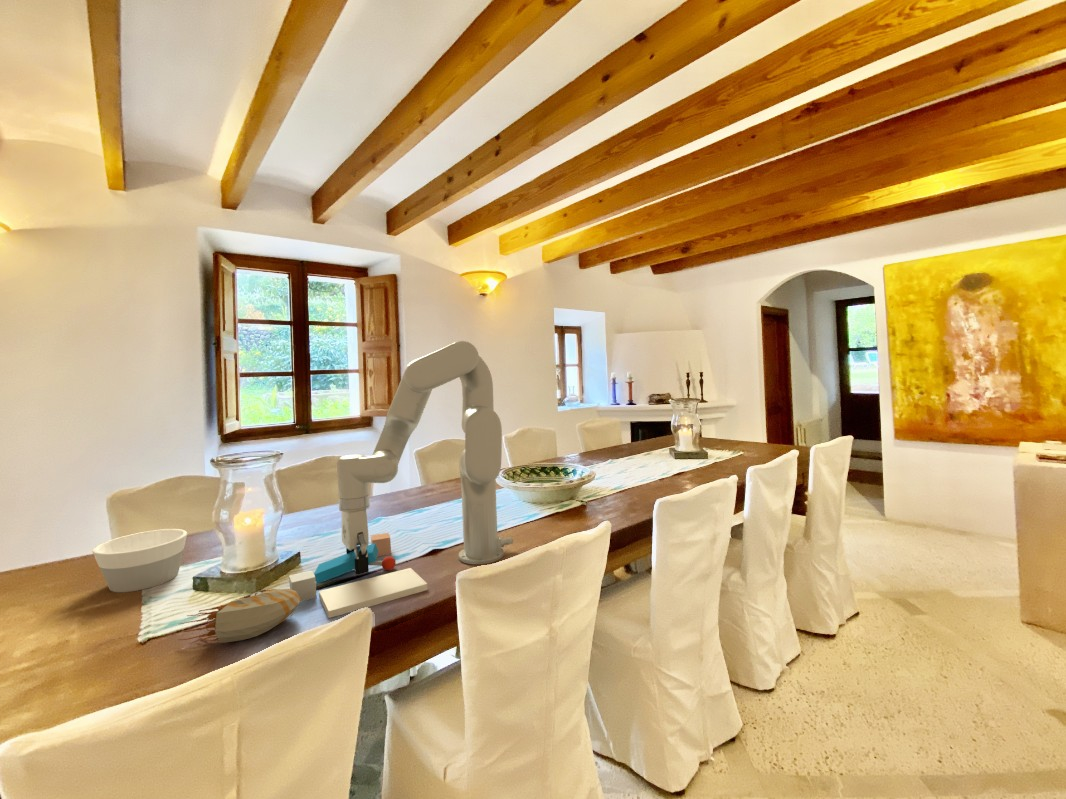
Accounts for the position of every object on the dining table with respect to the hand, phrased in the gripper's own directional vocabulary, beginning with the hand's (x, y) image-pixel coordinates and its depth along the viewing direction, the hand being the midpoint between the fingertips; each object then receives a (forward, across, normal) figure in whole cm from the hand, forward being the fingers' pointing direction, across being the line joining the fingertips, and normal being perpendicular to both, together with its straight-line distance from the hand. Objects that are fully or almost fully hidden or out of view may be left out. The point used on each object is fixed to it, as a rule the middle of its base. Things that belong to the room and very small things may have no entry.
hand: (357, 567), depth 125 cm
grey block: (+2, +6, -14) cm, 15 cm away
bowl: (+2, -31, -47) cm, 56 cm away
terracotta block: (+2, -11, +9) cm, 14 cm away
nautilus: (+2, +16, -26) cm, 31 cm away
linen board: (+2, +15, 0) cm, 15 cm away
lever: (+2, 0, 0) cm, 2 cm away
